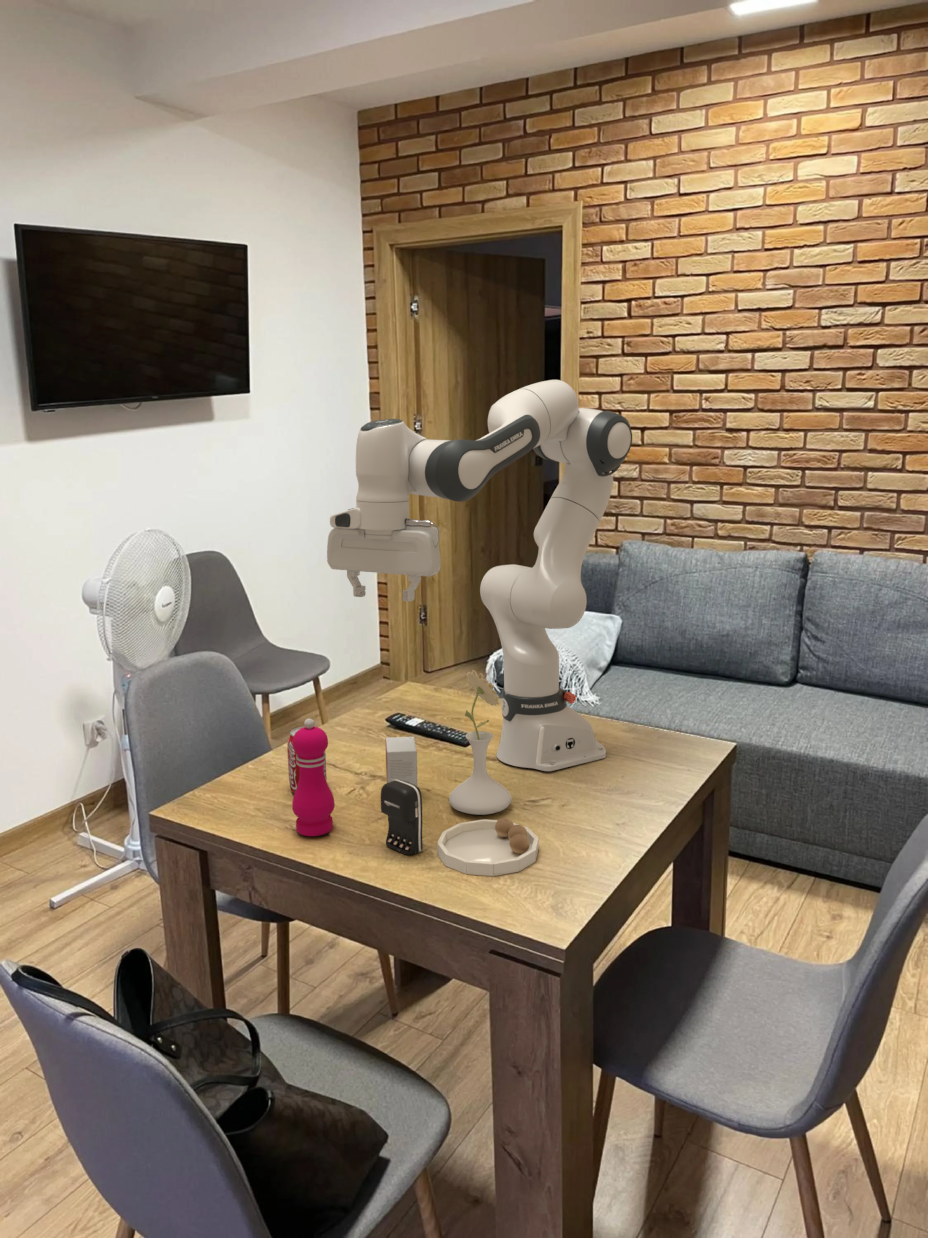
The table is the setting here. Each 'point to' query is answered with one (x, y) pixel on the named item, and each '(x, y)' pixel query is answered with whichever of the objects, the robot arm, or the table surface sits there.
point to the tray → (483, 849)
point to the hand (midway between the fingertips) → (383, 598)
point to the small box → (401, 759)
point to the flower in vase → (480, 763)
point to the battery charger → (403, 816)
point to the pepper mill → (312, 782)
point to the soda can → (292, 764)
